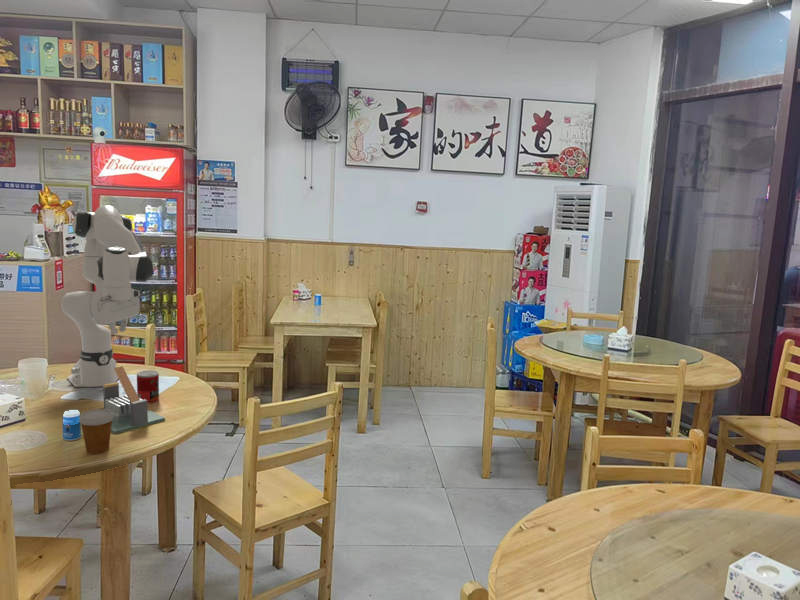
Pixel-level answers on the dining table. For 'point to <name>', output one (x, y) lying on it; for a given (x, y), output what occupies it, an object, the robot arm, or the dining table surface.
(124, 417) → the heatsink
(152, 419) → the board
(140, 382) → the canned food
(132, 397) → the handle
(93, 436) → the disposable coffee cup
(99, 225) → the robot arm
